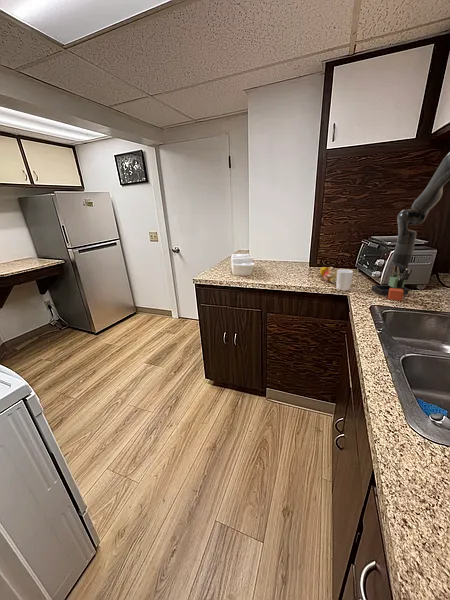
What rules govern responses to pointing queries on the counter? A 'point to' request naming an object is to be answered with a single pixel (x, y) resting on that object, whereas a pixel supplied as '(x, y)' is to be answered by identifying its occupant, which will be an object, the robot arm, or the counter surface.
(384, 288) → the dark grey tray
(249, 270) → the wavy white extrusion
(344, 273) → the white cup
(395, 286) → the green block
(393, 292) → the orange block
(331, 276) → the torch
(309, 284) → the counter surface
